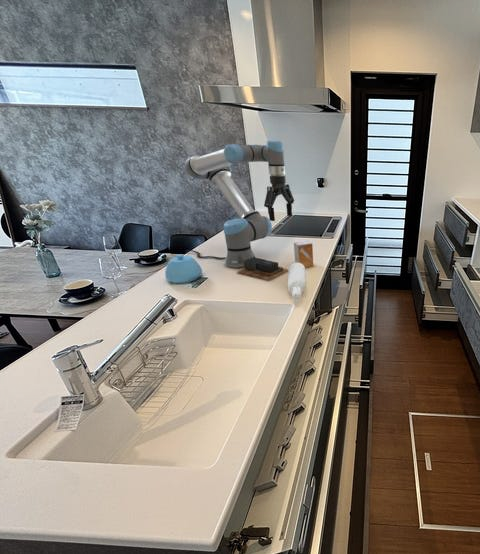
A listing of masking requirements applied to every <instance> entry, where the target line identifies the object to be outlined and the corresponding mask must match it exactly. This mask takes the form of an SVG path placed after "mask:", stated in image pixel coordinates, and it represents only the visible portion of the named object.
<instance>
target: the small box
mask: <svg viewBox="0 0 480 554" xmlns="http://www.w3.org/2000/svg"><path fill="white" fill-rule="evenodd" d="M293 251H294V263H301V264H303V265H304V267H305V269H306V268H311V267H314V249H313V242H311V241H310V240H301V241H294V242H293Z"/></svg>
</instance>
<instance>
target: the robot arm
mask: <svg viewBox="0 0 480 554" xmlns="http://www.w3.org/2000/svg"><path fill="white" fill-rule="evenodd" d="M265 143H266V144H237V143H232V144H226V145H225V147H224V148H222V149H219V150H216V151H213V152H210V153H207V154H204V155H192V156H190V157H188V158H187V159H186V160H185V162H184V170H185V171H186V173H187V174H188V175H189V176H190V177H192V178H194V179H196V180H209V181H210V183H211V184H213V185H214V186H217V187H218V190H220V192H221V194H222V195H223V196H224V198H225V199H226V200H227V202H228V203H229V205H230V206H231V208H233V210H234V211H235V213H236V214H237V215H238V218H232V219H230V220H226V221H225V222H224V224H223V233H224V238H225V244H226V250H227V252H226V257H225V256H224V257H219V256H212V255H206V256H203V255H201V253H200V252H199V251H197V250H193V249H187V250H186V251H185V252H184V253H187V254H188V253H189V252H193V253H196V254H197V255H196V256H197V258H200V259H208V258H210V259H218V260H225V266H226V267H227V268H230V269H244V262H243V261H245V260H248V259H250V258H253V257H255V258H256V256H255V254H254V252H253V250H252V246H251V242H255V241H258V240H262V239H265V238H267V237H269V236H270V235H271V234H272V231H273V228H272V227H273V225H272V222H276V216H275V209H274V204H275V202H276V200H277V197H278V196H280V195H281V196H282V197H283V199H284V200H285V201H286V203H285V204H286V205H285V207H286V216H287V217H293V205H292V204H294V202H295V199H294V196H293V193H292V191H291V189H290V184H287V179H286V178H287V177H286V170H285V153H284V152H285V151H284V147H283V146H284V145H283V142H282V141H281V140H266V142H265ZM258 162H260V163H261V162H262V163H263V162H264V163H267V164H268V174H269V183H270V184H271V186H266V194H265V199H264V204H263V207H264V208H267V213H268V216H265V215H261V213H260V212H259V210H258V211H257V210H254V208H253V207H252V205H251V204H250V203H249V201H248V200H247V198H246V197H245V196H244V194H243V192H242V191H241V190H240V188H239V187H238V185H237V184H236V183H235V182H234V180H233V179H232V168H231V166H233V165H236V164H241V163H258Z"/></svg>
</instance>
